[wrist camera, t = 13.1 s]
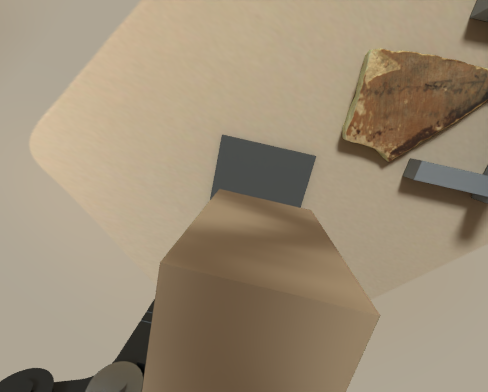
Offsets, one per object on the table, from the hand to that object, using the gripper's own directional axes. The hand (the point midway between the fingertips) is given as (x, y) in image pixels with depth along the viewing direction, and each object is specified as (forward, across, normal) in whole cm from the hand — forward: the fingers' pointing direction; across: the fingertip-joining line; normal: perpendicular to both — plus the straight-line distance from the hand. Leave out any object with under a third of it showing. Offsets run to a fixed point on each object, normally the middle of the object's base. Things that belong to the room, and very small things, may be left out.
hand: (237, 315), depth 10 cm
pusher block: (+1, 0, 0) cm, 1 cm away
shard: (+13, -9, -13) cm, 21 cm away
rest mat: (+12, 0, 0) cm, 12 cm away
